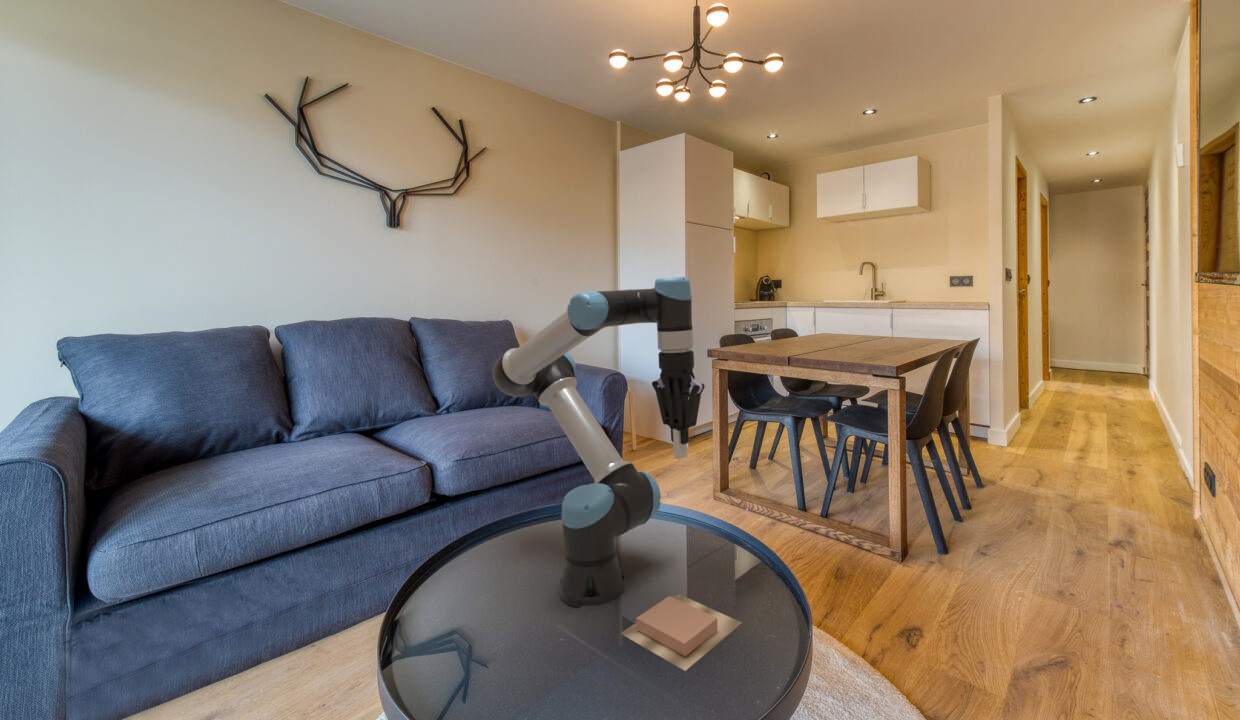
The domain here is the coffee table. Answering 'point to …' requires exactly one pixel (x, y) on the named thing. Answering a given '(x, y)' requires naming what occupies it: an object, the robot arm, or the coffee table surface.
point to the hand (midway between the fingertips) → (680, 457)
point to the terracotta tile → (677, 625)
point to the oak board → (684, 663)
